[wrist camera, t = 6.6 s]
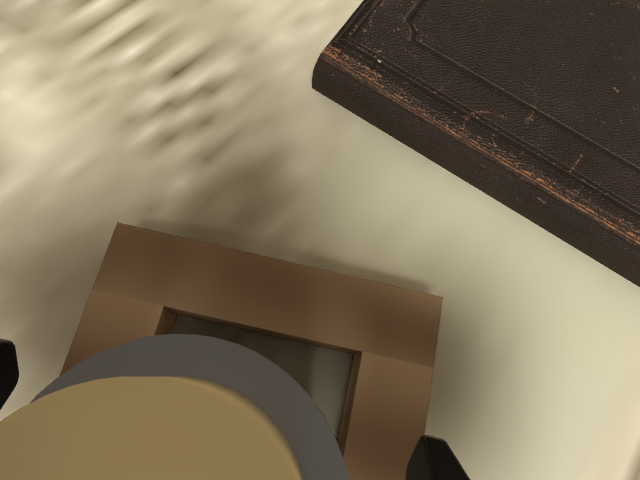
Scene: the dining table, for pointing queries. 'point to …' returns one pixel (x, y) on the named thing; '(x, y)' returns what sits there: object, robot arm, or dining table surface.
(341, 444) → the brown square frame
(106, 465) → the grey and tan cylinder
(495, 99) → the hardcover book
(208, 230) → the dining table surface
